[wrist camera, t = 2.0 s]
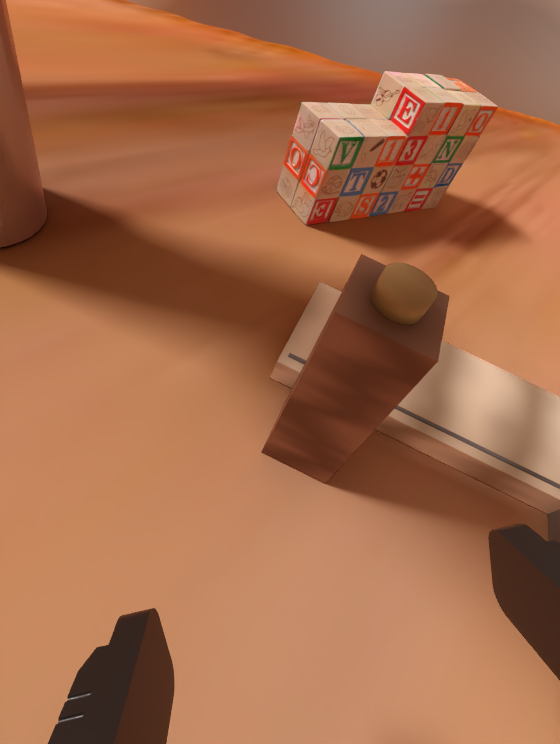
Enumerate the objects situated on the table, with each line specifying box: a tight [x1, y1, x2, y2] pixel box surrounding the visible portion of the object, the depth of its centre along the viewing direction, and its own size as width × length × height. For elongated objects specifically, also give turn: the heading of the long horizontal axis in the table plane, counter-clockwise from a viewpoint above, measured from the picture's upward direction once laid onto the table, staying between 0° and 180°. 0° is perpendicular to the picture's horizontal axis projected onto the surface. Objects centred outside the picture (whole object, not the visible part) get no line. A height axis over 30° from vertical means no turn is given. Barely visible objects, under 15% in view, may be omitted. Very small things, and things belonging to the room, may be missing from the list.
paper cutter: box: [270, 282, 560, 543], centre depth 30 cm, size 25×17×3 cm
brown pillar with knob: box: [262, 254, 449, 484], centre depth 22 cm, size 4×4×14 cm
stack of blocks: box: [277, 71, 498, 225], centre depth 45 cm, size 21×6×12 cm, turn 122°
